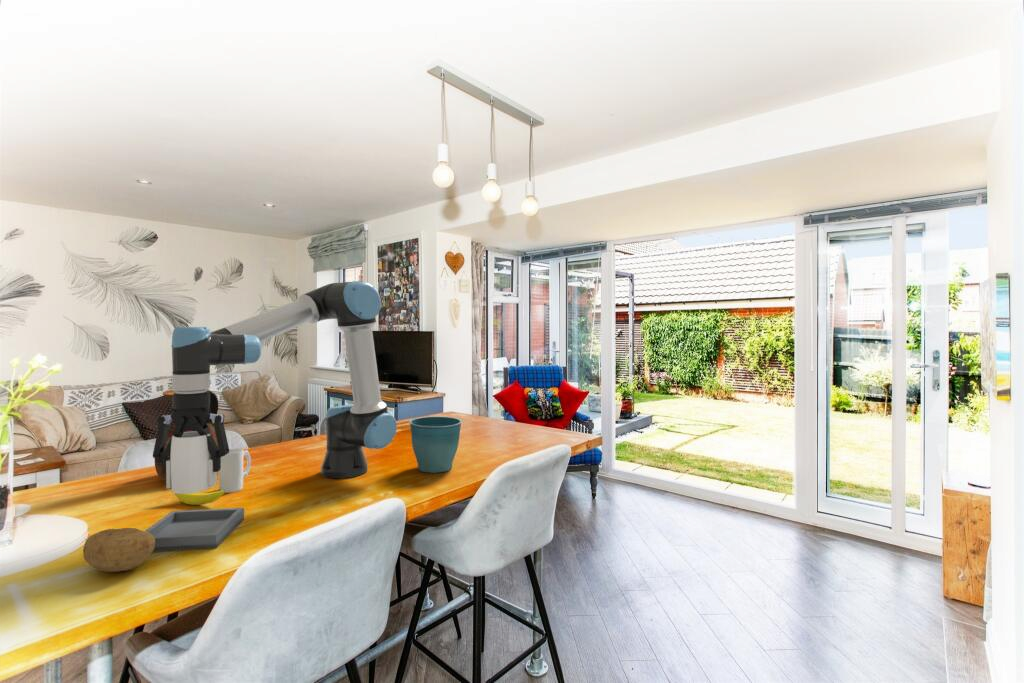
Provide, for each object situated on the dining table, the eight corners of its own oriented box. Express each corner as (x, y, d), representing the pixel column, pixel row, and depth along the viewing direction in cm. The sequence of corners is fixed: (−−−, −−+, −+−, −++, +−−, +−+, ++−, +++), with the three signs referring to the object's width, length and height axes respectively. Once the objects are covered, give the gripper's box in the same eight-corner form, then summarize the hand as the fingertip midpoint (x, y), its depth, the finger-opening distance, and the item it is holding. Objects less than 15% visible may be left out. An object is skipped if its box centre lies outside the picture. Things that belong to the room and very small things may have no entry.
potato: (113, 555, 108) (112, 519, 108) (168, 561, 105) (168, 524, 105) (65, 577, 98) (64, 537, 98) (125, 584, 96) (124, 544, 95)
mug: (228, 494, 147) (227, 454, 146) (213, 491, 150) (212, 452, 149) (258, 485, 156) (257, 447, 155) (243, 482, 159) (243, 444, 158)
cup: (181, 502, 112) (180, 439, 112) (163, 495, 117) (163, 435, 116) (219, 491, 120) (219, 433, 119) (201, 485, 124) (201, 429, 124)
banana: (220, 510, 134) (220, 487, 134) (165, 503, 139) (165, 481, 139) (229, 506, 137) (229, 484, 137) (175, 500, 142) (174, 478, 142)
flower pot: (471, 466, 178) (471, 419, 178) (438, 479, 163) (438, 428, 162) (433, 459, 188) (433, 414, 187) (398, 470, 173) (398, 422, 172)
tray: (244, 519, 128) (244, 507, 128) (216, 548, 112) (216, 534, 112) (172, 522, 126) (172, 511, 126) (132, 553, 109) (132, 539, 109)
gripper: (245, 389, 123) (245, 479, 124) (151, 389, 120) (151, 482, 120) (233, 393, 116) (233, 489, 116) (132, 393, 112) (133, 493, 113)
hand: (192, 485), depth 118 cm, fingers closed on cup, 8 cm apart
